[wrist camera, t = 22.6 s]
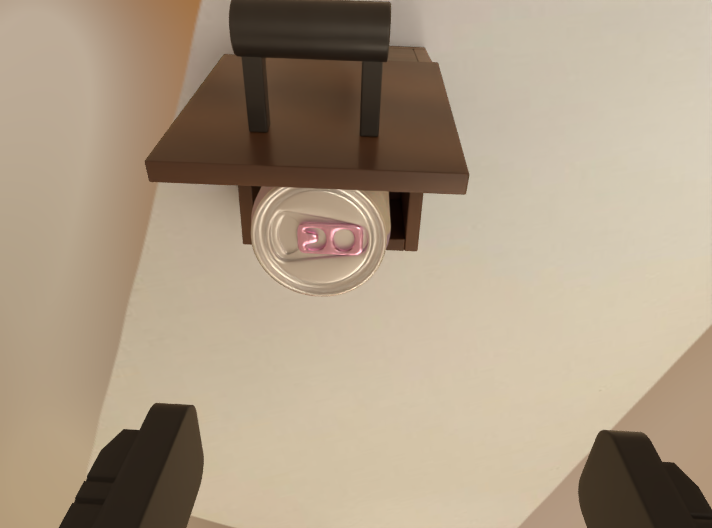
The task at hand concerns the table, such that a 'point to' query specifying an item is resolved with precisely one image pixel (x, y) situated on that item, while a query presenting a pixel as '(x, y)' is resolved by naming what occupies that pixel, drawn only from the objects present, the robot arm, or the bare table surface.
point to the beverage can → (320, 237)
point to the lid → (315, 107)
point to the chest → (401, 203)
